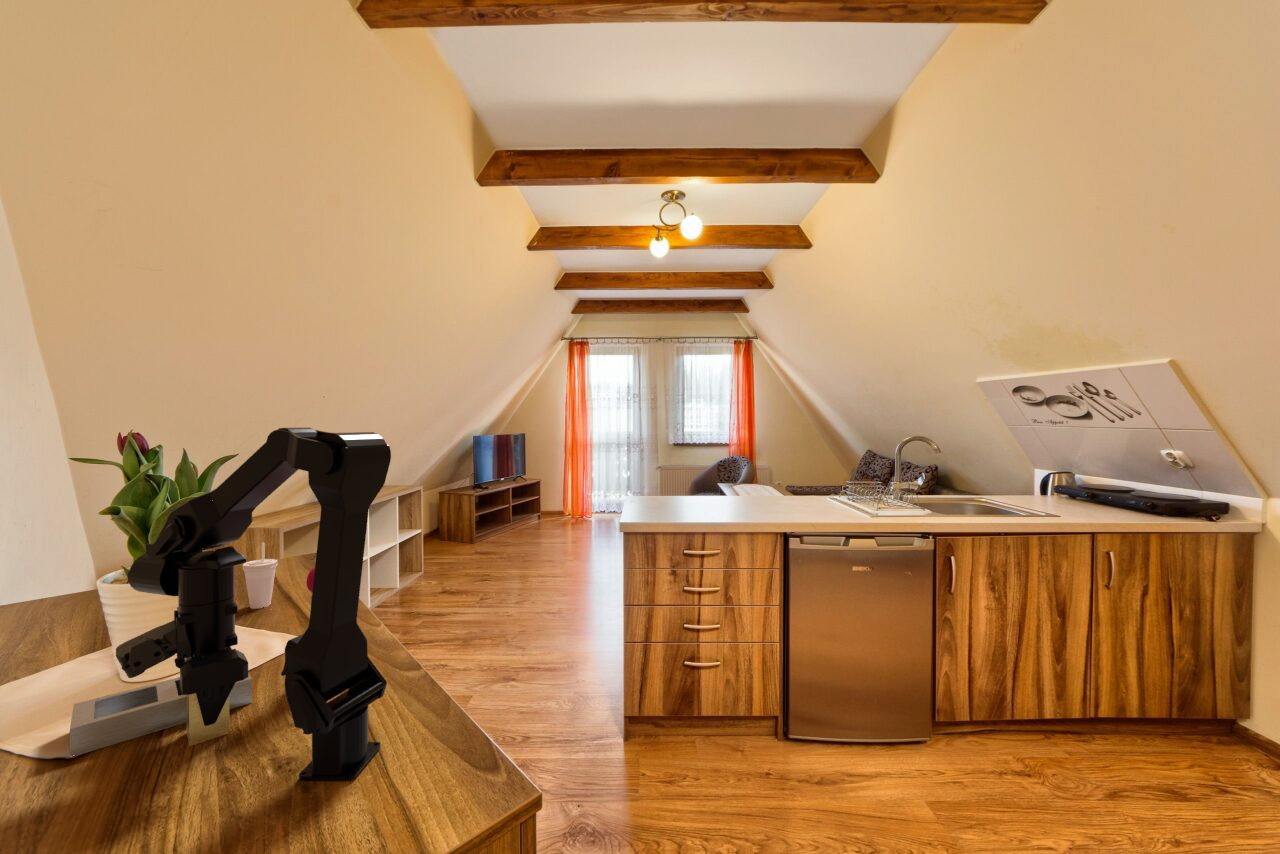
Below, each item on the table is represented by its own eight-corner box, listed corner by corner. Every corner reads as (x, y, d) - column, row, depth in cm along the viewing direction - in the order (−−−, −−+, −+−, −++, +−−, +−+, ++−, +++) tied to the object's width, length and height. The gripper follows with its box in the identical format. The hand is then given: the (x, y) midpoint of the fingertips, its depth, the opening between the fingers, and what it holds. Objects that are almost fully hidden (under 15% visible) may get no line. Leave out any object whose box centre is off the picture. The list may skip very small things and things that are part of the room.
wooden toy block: (229, 733, 69) (229, 680, 69) (189, 746, 67) (189, 690, 66) (225, 721, 72) (224, 669, 72) (186, 733, 69) (186, 679, 69)
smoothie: (283, 604, 119) (283, 542, 118) (250, 613, 113) (250, 547, 113) (269, 599, 122) (269, 538, 122) (237, 607, 117) (236, 544, 116)
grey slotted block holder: (242, 683, 83) (242, 638, 83) (251, 702, 77) (251, 654, 77) (73, 730, 70) (73, 677, 70) (70, 757, 64) (69, 700, 64)
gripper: (120, 596, 70) (121, 713, 70) (121, 636, 57) (122, 781, 57) (226, 579, 78) (227, 684, 78) (248, 611, 65) (249, 738, 65)
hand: (207, 717), depth 69 cm, fingers closed on wooden toy block, 4 cm apart
